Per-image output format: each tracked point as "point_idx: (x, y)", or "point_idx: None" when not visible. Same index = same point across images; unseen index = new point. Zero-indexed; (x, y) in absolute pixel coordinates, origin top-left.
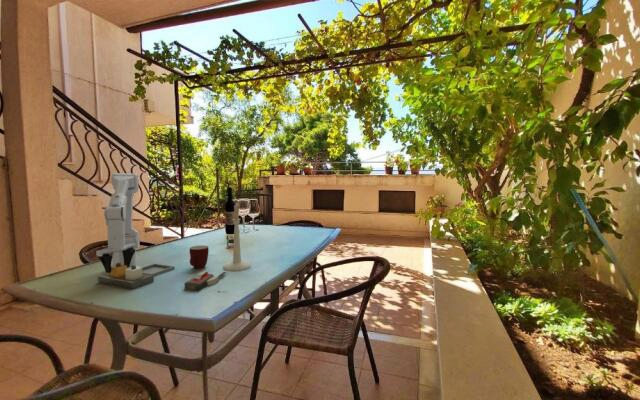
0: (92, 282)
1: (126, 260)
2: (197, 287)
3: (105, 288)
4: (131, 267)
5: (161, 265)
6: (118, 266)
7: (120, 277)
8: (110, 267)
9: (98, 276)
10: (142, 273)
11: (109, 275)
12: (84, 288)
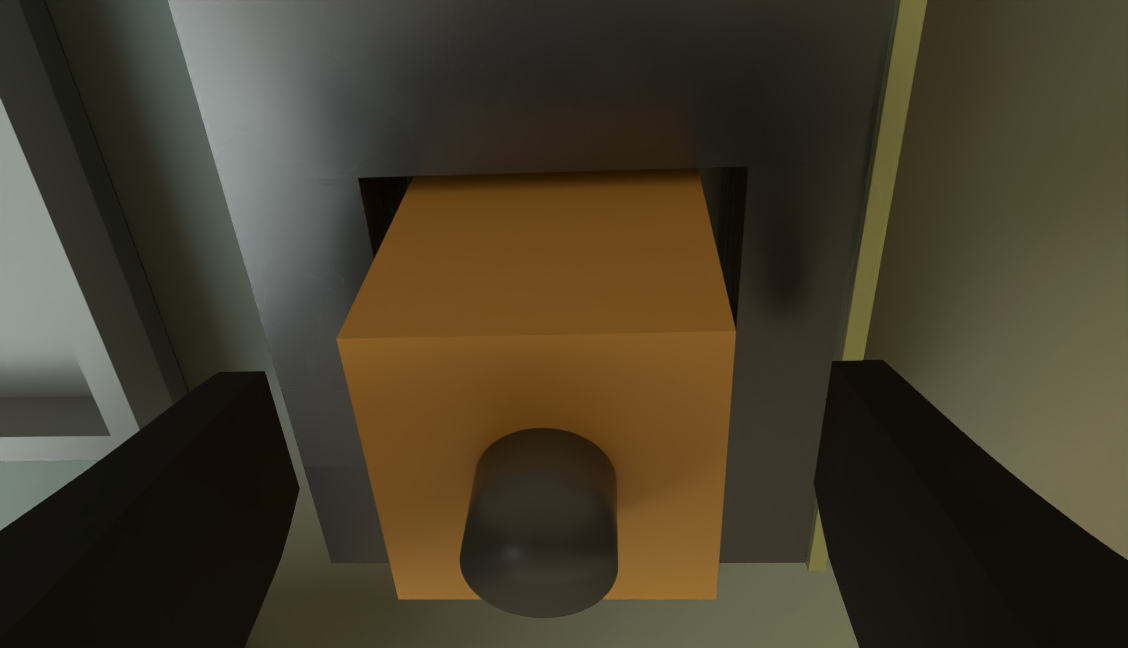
0: (763, 578)
1: (183, 603)
2: None
3: (972, 104)
4: None
5: None
6: (581, 441)
7: (708, 47)
8: (927, 451)
9: (825, 557)
10: (15, 97)
11: None
12: (1043, 446)
